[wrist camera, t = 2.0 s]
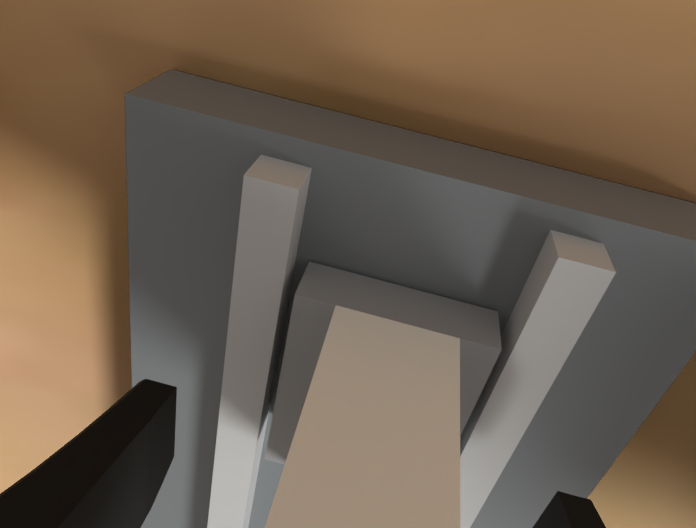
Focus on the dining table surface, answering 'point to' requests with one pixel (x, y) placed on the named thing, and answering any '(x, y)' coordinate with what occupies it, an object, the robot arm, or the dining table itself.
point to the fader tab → (375, 403)
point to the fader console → (398, 268)
